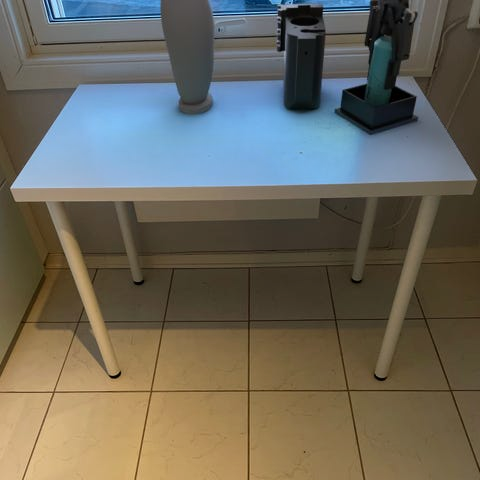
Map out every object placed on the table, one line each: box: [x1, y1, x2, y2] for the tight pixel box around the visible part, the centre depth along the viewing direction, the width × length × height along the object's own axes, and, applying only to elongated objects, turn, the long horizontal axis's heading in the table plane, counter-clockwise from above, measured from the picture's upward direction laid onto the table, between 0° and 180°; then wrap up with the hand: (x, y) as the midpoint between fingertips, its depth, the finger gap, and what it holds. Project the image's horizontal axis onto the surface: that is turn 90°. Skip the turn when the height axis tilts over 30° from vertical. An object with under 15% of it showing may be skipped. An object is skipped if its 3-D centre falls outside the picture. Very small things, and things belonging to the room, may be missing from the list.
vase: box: [159, 0, 215, 115], centre depth 130 cm, size 13×13×35 cm
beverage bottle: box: [364, 21, 398, 107], centre depth 126 cm, size 6×7×20 cm
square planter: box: [334, 83, 419, 136], centre depth 132 cm, size 15×15×6 cm
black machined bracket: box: [276, 3, 327, 110], centre depth 136 cm, size 12×21×22 cm, turn 177°
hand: (380, 83), depth 128 cm, fingers closed on beverage bottle, 6 cm apart
